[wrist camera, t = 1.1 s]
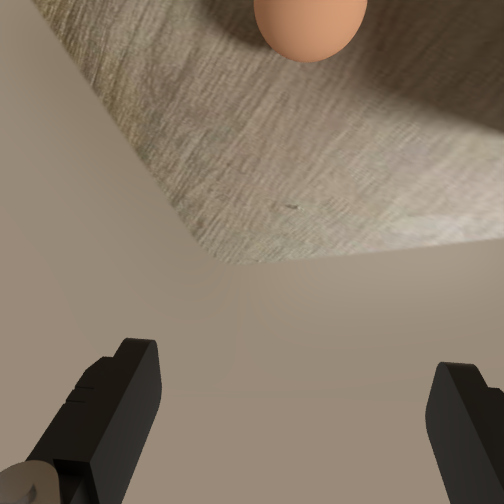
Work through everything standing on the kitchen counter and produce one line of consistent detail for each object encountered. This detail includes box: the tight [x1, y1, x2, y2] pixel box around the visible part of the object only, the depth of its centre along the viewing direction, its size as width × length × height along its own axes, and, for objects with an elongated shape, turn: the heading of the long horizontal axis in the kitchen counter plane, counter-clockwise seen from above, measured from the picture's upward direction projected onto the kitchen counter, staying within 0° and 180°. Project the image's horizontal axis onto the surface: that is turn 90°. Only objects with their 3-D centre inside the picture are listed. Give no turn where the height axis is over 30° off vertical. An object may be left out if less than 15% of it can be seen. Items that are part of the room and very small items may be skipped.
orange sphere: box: [254, 0, 367, 62], centre depth 20 cm, size 5×5×5 cm
